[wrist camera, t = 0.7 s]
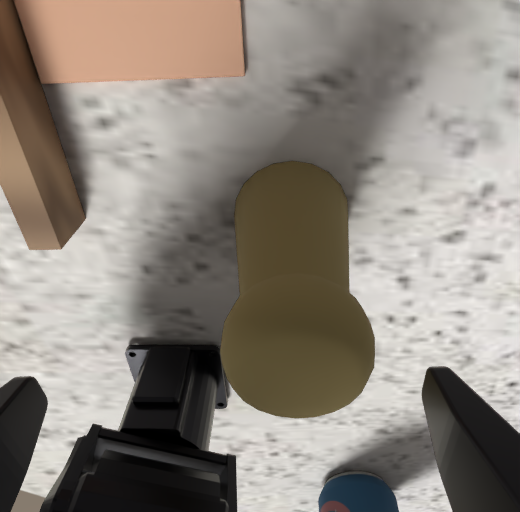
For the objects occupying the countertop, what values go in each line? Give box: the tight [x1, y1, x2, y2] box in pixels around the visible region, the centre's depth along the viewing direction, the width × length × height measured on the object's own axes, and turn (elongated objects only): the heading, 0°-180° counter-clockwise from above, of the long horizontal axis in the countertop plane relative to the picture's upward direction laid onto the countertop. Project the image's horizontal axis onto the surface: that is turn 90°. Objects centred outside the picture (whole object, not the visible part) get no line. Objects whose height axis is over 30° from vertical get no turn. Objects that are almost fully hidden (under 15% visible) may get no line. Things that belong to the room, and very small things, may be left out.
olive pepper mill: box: [220, 161, 375, 418], centre depth 17 cm, size 6×6×11 cm
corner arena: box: [0, 0, 245, 250], centre depth 15 cm, size 18×17×3 cm
